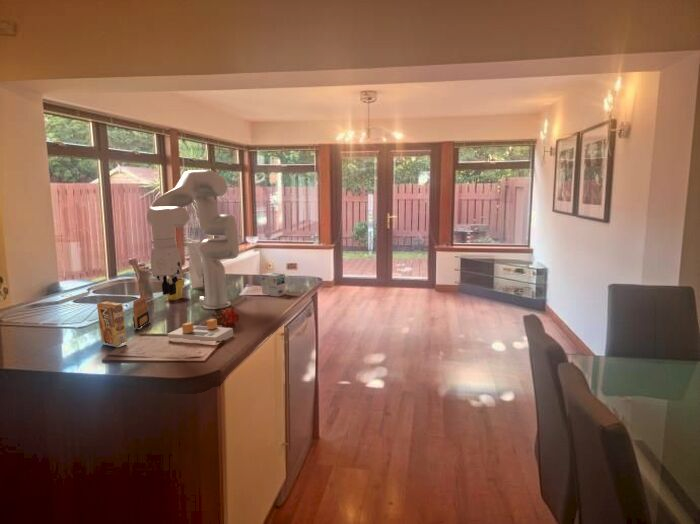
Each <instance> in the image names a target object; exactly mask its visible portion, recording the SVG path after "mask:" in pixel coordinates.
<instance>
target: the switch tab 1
mask: <svg viewBox="0 0 700 524" xmlns="http://www.w3.org/2000/svg"><path fill="white" fill-rule="evenodd" d="M193 326H194V323H193V322H189V321H188V322H185V323H182V325H181V327H182V329H183V333H190V332H192V331H194V329H193Z"/></svg>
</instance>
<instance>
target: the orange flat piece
mask: <svg viewBox="0 0 700 524" xmlns="http://www.w3.org/2000/svg"><path fill="white" fill-rule="evenodd" d="M132 310H133V311H132V312H133V313H132V314H133V318H132V319H133V329H134V328H140V327H141V326H143V325H144V324H146V323H148V322H149V321H150V314H149V310H148V304H147V298H146V296H145V295H144V294H143V295H141V296H140V297H138V298H137V299H135V300H133V309H132Z"/></svg>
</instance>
